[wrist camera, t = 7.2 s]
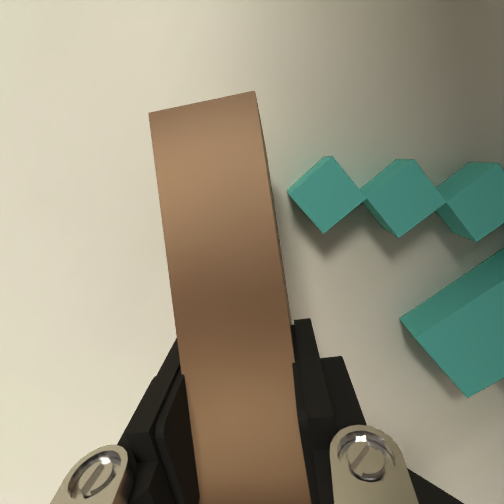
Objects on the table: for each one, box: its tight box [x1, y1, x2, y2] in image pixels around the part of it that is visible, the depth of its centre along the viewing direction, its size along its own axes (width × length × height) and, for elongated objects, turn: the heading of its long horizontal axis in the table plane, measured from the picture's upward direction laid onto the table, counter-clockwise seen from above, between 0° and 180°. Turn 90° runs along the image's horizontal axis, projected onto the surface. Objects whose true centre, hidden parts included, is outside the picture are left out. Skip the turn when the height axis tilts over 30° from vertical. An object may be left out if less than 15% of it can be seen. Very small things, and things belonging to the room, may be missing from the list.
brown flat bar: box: [149, 91, 311, 504], centre depth 10 cm, size 16×3×4 cm, turn 10°
